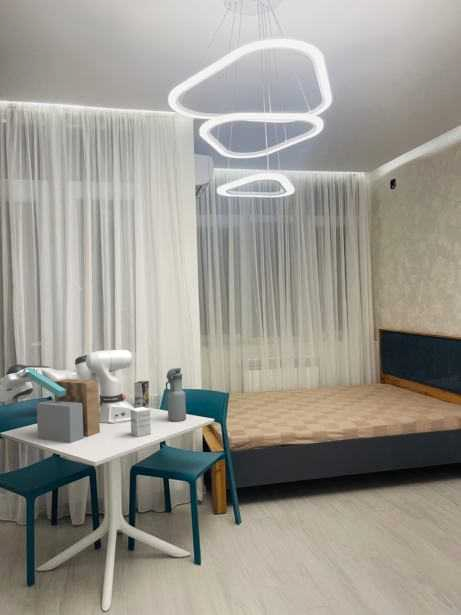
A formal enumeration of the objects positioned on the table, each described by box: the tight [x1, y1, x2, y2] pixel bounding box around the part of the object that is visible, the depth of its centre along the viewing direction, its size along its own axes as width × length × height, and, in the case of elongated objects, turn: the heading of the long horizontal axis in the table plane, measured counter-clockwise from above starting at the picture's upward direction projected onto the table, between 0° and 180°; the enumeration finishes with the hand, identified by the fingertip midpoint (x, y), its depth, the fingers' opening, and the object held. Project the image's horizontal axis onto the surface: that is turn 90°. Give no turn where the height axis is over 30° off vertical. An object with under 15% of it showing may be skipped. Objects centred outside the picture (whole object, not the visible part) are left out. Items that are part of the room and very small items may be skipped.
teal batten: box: [24, 368, 66, 397], centre depth 230 cm, size 28×4×3 cm, turn 61°
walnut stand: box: [54, 379, 101, 438], centre depth 232 cm, size 22×8×26 cm, turn 63°
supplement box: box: [130, 407, 152, 438], centre depth 224 cm, size 7×7×13 cm
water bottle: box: [165, 367, 187, 423], centre depth 252 cm, size 10×10×28 cm
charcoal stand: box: [36, 400, 84, 444], centre depth 222 cm, size 22×8×17 cm, turn 63°
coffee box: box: [133, 380, 150, 408], centre depth 287 cm, size 9×6×16 cm
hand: (31, 370), depth 235 cm, fingers closed on teal batten, 4 cm apart
